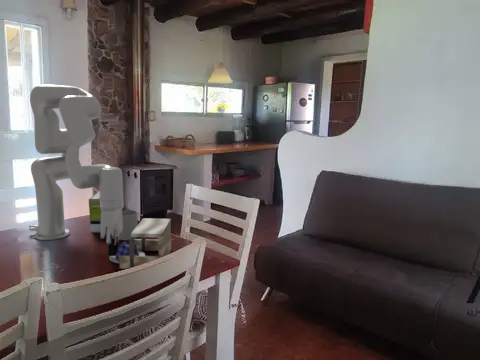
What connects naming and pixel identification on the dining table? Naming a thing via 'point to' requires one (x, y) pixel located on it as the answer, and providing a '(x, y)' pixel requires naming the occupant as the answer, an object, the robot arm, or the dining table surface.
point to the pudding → (125, 252)
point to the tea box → (95, 212)
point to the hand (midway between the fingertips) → (113, 254)
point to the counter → (148, 241)
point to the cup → (128, 224)
